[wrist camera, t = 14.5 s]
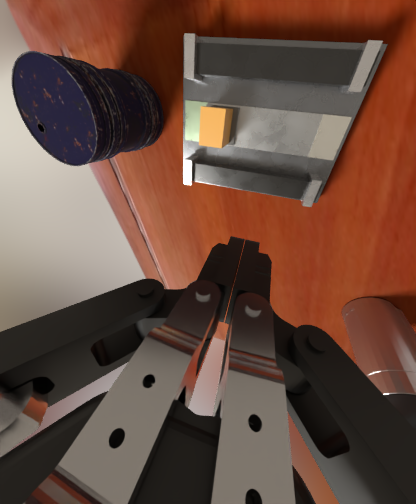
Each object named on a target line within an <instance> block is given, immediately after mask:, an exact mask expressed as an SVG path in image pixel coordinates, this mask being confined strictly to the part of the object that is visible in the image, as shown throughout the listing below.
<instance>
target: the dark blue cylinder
mask: <svg viewBox="0 0 416 504" xmlns="http://www.w3.org/2000/svg"><path fill="white" fill-rule="evenodd" d="M12 88H13V95H14V98H15V102H16V105H17V108H18V111H19V113H20V115H21V117H22V119H23V121H24V123H25V125H26V127H27V128H28V130H29V131H30V133H31V134H32V136H33V137H34V138H35V140H36V141H37V142H38V143H39V144H40V146H41V147H42V148H43V149H44V150H46V152H47V153H49V154H50V155H51V156H52V157H54V158H55V159H57V160H58V161H60V162H62V163H64V164H67V165H71V166H81V165H85V164H88V163H92V162H98V161H102V160H105V159H109V158H112V157H114V156H115V155H117V154H118V153H120V152H130V151H136V150H140V149H142V148H144V147H147V146H150V145H152V144H154V143H155V142H156V141H157V140H158V138H159V137H160V135H161V132H162V129H163V110H162V105H161V102H160V99H159V97H158V95H157V93H156V92H155V90H154V89H153V87H152V86H151V85H150V84H149V83H148V82H147V81H146V80H145V79H143V78H142V77H140V76H137V75H134V74H130V73H128V72H126V71H122V70H117V69H109V68H103V69H98V68H96V67H95V66H93V65H91V64H89V63H87V62H84V61H81V60H75V59H72V58H68V57H63V56H53V55H49V54H45V53H41V52H36V51H28V52H25V53H23V54H21V55H20V56H19V57H18V58H17V60H16V61H15V64H14V66H13V69H12Z"/></svg>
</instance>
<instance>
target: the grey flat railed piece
mask: <svg viewBox="0 0 416 504" xmlns="http://www.w3.org/2000/svg"><path fill="white" fill-rule="evenodd" d="M382 42H383V41H378V40H368V41H367V42H365V43H347V42H322V41H297V40H272V39H247V38H222V37H198V36H197V35H196V34H190V33H184V36H183V179H184V184H187V185H192V184H193V183H194V182H201V183H206V184H212V185H218V186H223V187H229V188H234V189H240V190H246V191H251V192H257V193H263V194H268V195H274V196H279V197H285V198H291V199H296V200H301V203H302V206H308V207H311V206H312V204H313V203H317V202H318V199H319V197H320V195H321V193H322V190H323V188H324V186H325V184H326V181H327V179H328V177H329V175H330V172H331V170H332V168H333V166H334V163H335V161H336V159H337V157H338V155H339V152H340V150H341V148H342V146H343V143H344V141H345V139H346V137H347V134H348V132H349V130H350V128H351V125H352V123H353V121H354V119H355V116H356V114H357V112H358V110H359V107H360V105H361V103H362V101H363V99H364V96H365V94H366V92H367V90H368V87H369V85H370V83H371V81H372V78H373V76H374V74H375V72H376V69H377V67H378V65H379V63H380V60H381V58H382V56H383V54H384V51H385V49H386V47H387V45H388V44H382ZM206 104H209V105H219V106H229V107H238V108H239V114H238V121H237V128H236V135H235V142H234V145H226V146H224V147H223V148H215V147H208V146H201V145H199V132H200V110H201V106H206Z"/></svg>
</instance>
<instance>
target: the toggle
mask: <svg viewBox="0 0 416 504" xmlns="http://www.w3.org/2000/svg"><path fill="white" fill-rule="evenodd" d="M238 114H239V108H238V107H229V106H219V105H209V104H206V106H201V110H200V132H199V145H201V146H208V147H215V148H223V147H224V146H226V145H234V142H235V135H236V128H237V121H238Z"/></svg>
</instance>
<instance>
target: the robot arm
mask: <svg viewBox="0 0 416 504" xmlns="http://www.w3.org/2000/svg"><path fill="white" fill-rule="evenodd" d="M244 240H245V239H241V238H237V237H232V236H231V237H230V240H229V242H228V245H225V244H221V243H219V244H217V245H216V246H214V247H213V248H212V250H211V252H210V254H209V256H208V258H207V260H206V262H205V264H204V266H203V268H202V270H201V272H200V274H199V276H198V278H197V280H196V281H194V282H192V283H190V284H189V285H188V286H187V288H185V289H178V290H172V289H164V286H163V284H162V283H161V282H159V281H158V280H155V279H142V280H139V281H136V282H133V283H131V284H128V285H125V286H123V287H120V288H117V289H115V290H112V291H109V292H107V293H104V294H101V295H98V296H96V297H93V298H90V299H88V300H85V301H82V302H80V303H77V304H74V305H72V306H69V307H66V308H64V309H61V310H58V311H55V312H53V313H50V314H47V315H45V316H42V317H39V318H37V319H34V320H31V321H29V322H26V323H23V324H21V325H18V326H15V327H12V328H10V329H7V330H5V331H2V332H0V504H316V503H315V501H314V500H313V498H312V495H311V493H310V492H309V490H308V488H307V487H306V485H305V483H304V481H303V480H302V478H301V477H300V475H299V474H298V472H297V471H296V469H295V468H294V467H293V465H292V460H291V448H290V437H289V426H288V414H287V411H288V413H289V415H290V416H291V418H292V420H293V422H294V424H295V425H296V427H297V429H298V431H299V433H300V434H301V436H302V438H303V440H304V441H305V443H306V445H307V447H308V449H309V450H310V452H311V454H312V456H313V458H314V459H315V461H316V463H317V465H318V467H319V468H320V470H321V472H322V474H323V475H324V477H325V479H326V481H327V483H328V484H329V486H330V488H331V490H332V491H333V493H334V495H335V497H336V499H337V500H338V502H339V504H416V333H415V331H414V330H413V328H412V327H411V325H410V323H409V322H408V320H407V318H406V317H405V315H404V313H403V312H402V310H400V309H397V308H395V307H394V305H393V304H392V303H390V302H389V301H386V300H384V299H380V298H373V297H370V298H360V299H356V300H353V301H351V302H349V303H348V304H346V305H345V306H344V308H343V309H342V316H343V320H344V323H345V326H346V329H347V333H348V336H349V339H350V342H351V345H352V349H353V352H354V355H355V358H356V361H357V365H358V366H357V365H356V364H355V363H354V362H353V361H352V360H351V358H350V357H349V356H348V355H347V354H346V353H345V352H344V351H343V350H342V349H341V347H340V346H339V345H338V344H337V343H336V342H335V341H334V340H333V339H332V338H331V337H330V336H329V335H328V334H327V333H326V332H325V331H323V330H322V329H320V328H318V327H315V326H312V325H301V326H299V327H298V328H296V327H294V326H292V325H291V324H289V323H287V322H286V321H284V320H282V319H281V318H280V317H279V316H278V315H277V314H276V313H275V312H274V311H273V309H272V307H271V305H270V283H271V264H272V262H271V260H270V258H269V256H268V254H263V253H259V252H258V251H259V244H260V243H259V242H254V241H250V240H246V241H245V244H244ZM243 244H244V248H243ZM242 248H243V252H242ZM241 253H242V256H241ZM240 257H241V260H240ZM239 261H240V263H239ZM238 265H239V267H238ZM237 269H238V271H237ZM236 273H237V275H236ZM235 277H236V279H235ZM234 281H235V282H234ZM233 285H234V286H233ZM232 288H233V290H232ZM231 292H232V295H231ZM230 296H231V299H230ZM229 300H230V303H229ZM228 303H229V307H228ZM227 307H228V312H227V316H226V320H225V323H227V324H229V327H228V331H227V335H226V339H225V344H224V351H223V357H222V364H221V370H220V377H219V384H218V389H217V395H216V399H215V405H214V411H213V416H200V415H196V414H194V413H193V412H192V411H191V410H190V409H188V406H189V403H190V401H191V398H192V395H193V391H194V388H195V384H196V381H197V378H198V376H199V373H200V371H201V368H202V365H203V363H204V360H205V358H206V355H207V352H208V350H209V347H210V344H211V342H212V339H213V336H214V334H215V332H216V329H217V326H218V322H219V321H220V322H224V318H225V315H226V311H227ZM127 362H128V364H127V365H126V367H125V368H124V369H123V371H122V372H121V374H120V375H119V377H118V378H117V380H116V381H115V382H114V384H113V385H112V387H111V388H110V390H109V391H107V392H104V393H102V394H100V395H98V396H96V397H94V398H92V399H90V400H89V401H87V402H86V403H84V404H82V405H81V406H79V407H78V408H76V409H75V410H73V411H72V412H70V413H68V414H67V415H65V416H64V417H62V418H61V419H59V420H58V421H56V422H54V423H53V424H52V425H50V426H49V427H47V428H45V429H44V430H42V431H40V432H39V433H37V434H36V435H34V436H33V437H31V438H30V439H28V440H27V441H25V442H24V443H22V444H20V445H19V446H17V447H16V448H14V449H13V450H11V449H12V448H13V447H14V446H15V445H17V444H18V443H20V442H21V441H22V440H24V439H25V438H26V437H27V436H28V435H30V434H32V433H33V432H35V431H36V430H37V429H38V428H39V426H40V425H41V423H42V421H43V417H44V415H45V413H46V410H47V408H48V407H50V406H51V405H53V404H55V403H57V402H58V401H60V400H62V399H64V398H66V397H67V396H69V395H71V394H73V393H74V392H76V391H78V390H80V389H81V388H83V387H85V386H86V385H88V384H90V383H92V382H94V381H95V380H97V379H99V378H101V377H102V376H104V375H106V374H108V373H109V372H111V371H113V370H115V369H117V368H118V367H120V366H122V365H124V364H125V363H127ZM10 450H11V451H10Z"/></svg>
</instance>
